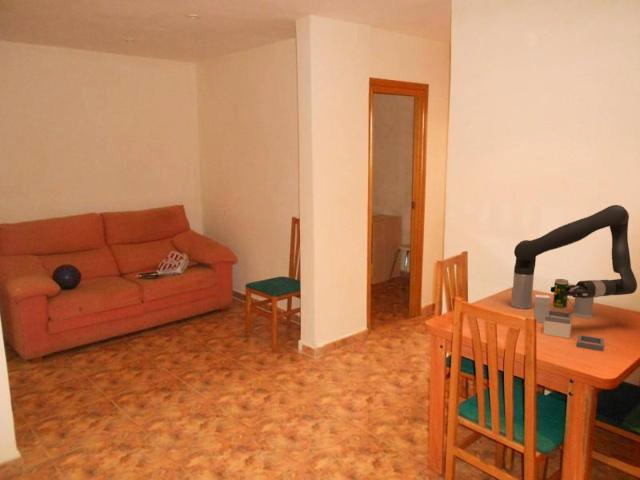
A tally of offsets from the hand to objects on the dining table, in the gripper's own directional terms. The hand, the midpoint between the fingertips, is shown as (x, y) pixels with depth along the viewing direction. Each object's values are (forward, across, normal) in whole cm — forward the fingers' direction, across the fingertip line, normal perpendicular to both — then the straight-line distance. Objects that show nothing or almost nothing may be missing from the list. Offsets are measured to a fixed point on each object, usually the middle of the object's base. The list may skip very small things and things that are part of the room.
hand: (555, 291), depth 222 cm
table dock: (-6, +15, +18) cm, 25 cm away
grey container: (-27, -21, +19) cm, 39 cm away
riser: (-2, 0, +18) cm, 19 cm away
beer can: (-3, 0, +7) cm, 8 cm away
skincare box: (-4, -14, +19) cm, 24 cm away
